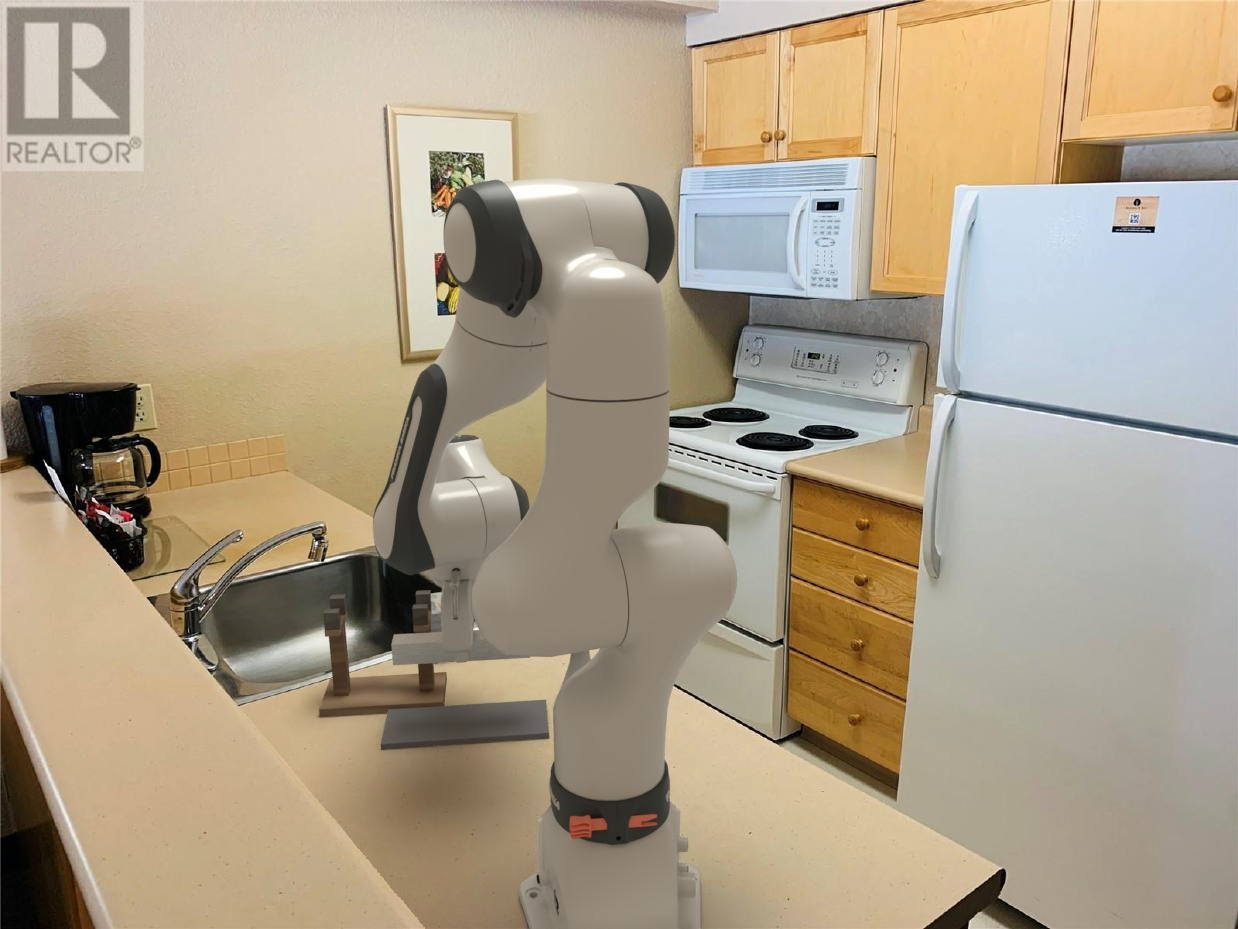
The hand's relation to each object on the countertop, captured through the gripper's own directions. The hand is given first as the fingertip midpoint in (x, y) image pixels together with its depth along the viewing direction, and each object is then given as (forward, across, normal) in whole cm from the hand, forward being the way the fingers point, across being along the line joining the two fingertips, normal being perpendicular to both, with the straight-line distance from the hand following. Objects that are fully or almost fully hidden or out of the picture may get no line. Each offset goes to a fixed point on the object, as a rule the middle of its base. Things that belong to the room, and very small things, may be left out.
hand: (462, 652), depth 128 cm
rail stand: (+11, +9, +12) cm, 19 cm away
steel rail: (+1, 0, 0) cm, 1 cm away
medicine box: (+12, +23, +5) cm, 26 cm away
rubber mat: (+11, 0, 0) cm, 11 cm away
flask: (+11, +4, -16) cm, 20 cm away
